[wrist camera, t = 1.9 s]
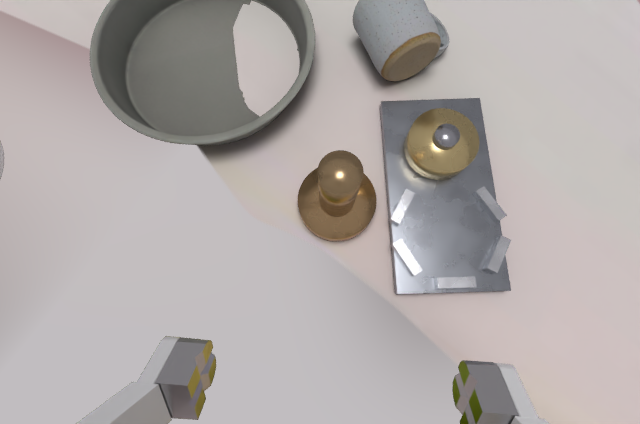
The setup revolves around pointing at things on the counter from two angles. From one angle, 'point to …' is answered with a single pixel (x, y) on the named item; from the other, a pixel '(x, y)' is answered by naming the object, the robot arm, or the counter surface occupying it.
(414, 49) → the ceramic mug
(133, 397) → the robot arm
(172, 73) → the cake pan
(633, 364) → the counter surface
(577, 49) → the counter surface
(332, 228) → the brass joystick knob
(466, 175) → the carrier plate
